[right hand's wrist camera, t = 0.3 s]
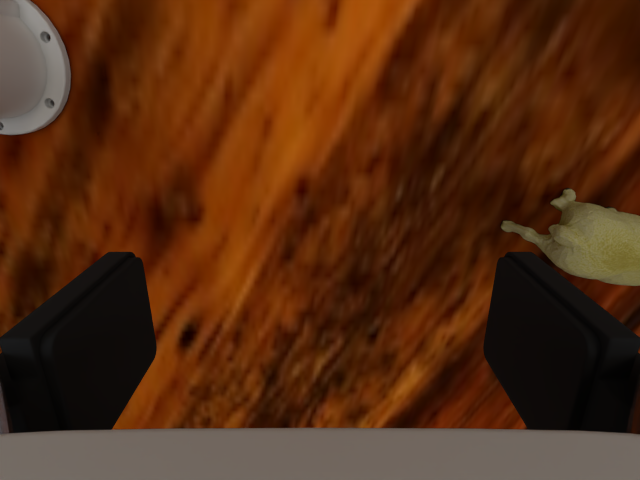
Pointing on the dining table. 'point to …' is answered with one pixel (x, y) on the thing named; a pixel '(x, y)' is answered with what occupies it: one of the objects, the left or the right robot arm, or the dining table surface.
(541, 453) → the right robot arm
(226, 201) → the dining table surface
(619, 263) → the toy
